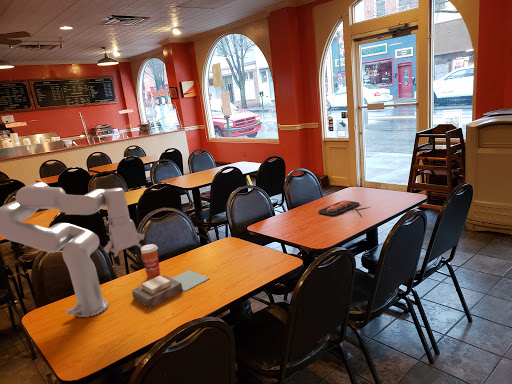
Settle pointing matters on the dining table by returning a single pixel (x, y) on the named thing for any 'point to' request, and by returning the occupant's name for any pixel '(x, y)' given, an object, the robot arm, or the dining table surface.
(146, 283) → the beige rectangular block
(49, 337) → the dining table surface
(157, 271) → the coffee cup
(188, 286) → the mat
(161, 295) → the grey rectangular block
